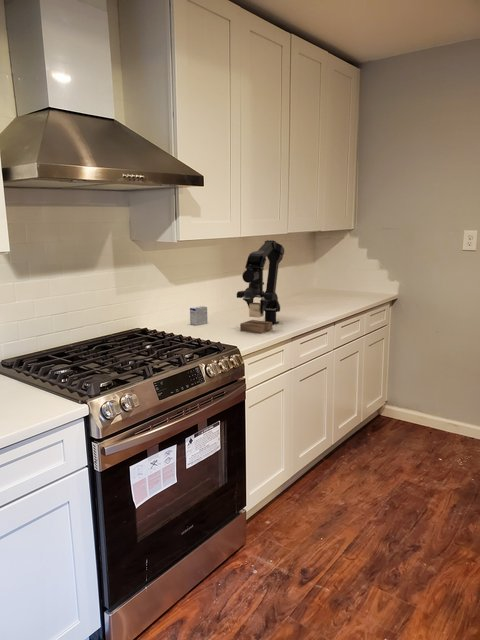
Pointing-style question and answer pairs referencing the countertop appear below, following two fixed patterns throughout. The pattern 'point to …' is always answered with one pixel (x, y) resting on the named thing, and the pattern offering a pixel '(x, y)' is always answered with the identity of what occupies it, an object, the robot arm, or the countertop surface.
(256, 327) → the walnut block
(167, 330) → the countertop surface
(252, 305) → the maple block
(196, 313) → the box
